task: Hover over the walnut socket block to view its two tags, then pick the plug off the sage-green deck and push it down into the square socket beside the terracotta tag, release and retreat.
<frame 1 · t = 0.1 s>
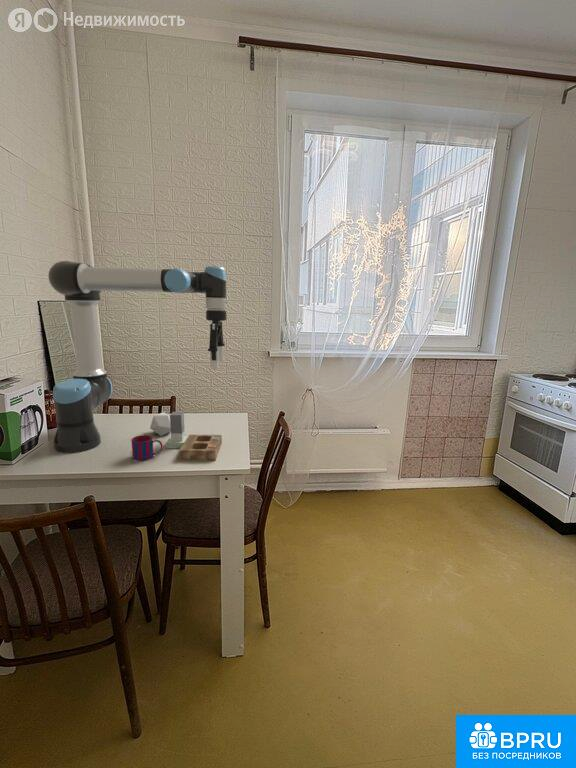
hand: (217, 365, 148), 28 cm above the table, fingers open, 13 cm apart
socket block: (201, 451, 136), on the table
plug: (178, 439, 142), point 2 cm above the table, touching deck
die: (162, 433, 153), on the table
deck: (178, 444, 142), on the table
mug: (147, 458, 130), on the table
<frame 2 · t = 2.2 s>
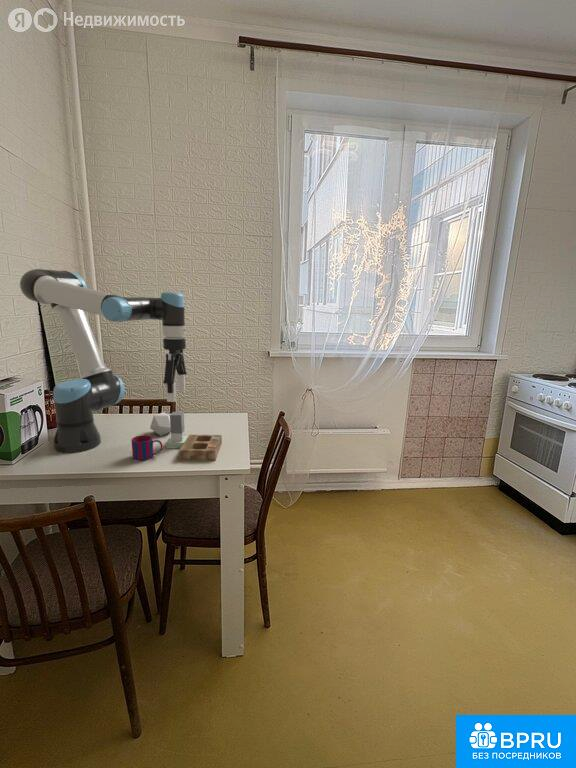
hand: (176, 396, 138), 18 cm above the table, fingers open, 13 cm apart
nothing on the table moved.
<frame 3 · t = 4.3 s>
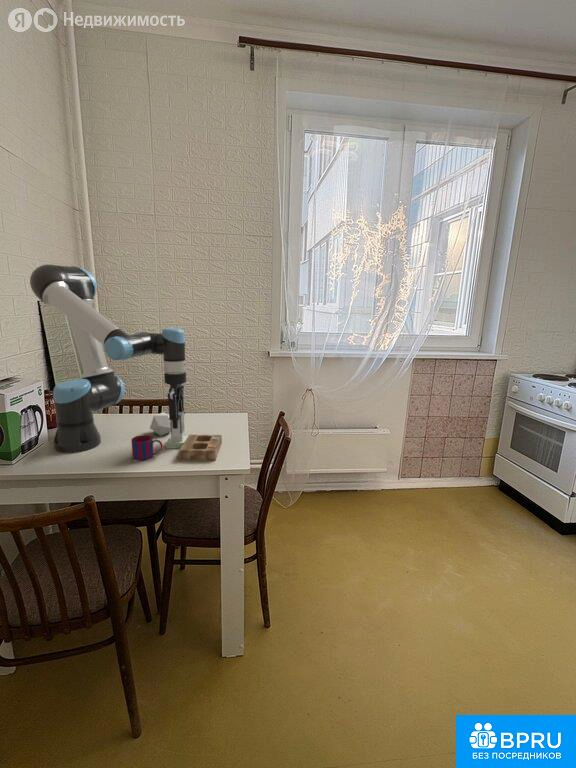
hand: (177, 433, 141), 4 cm above the table, fingers closed on plug, 4 cm apart
plug: (178, 439, 142), point 2 cm above the table, touching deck, gripper
everything else where it was.
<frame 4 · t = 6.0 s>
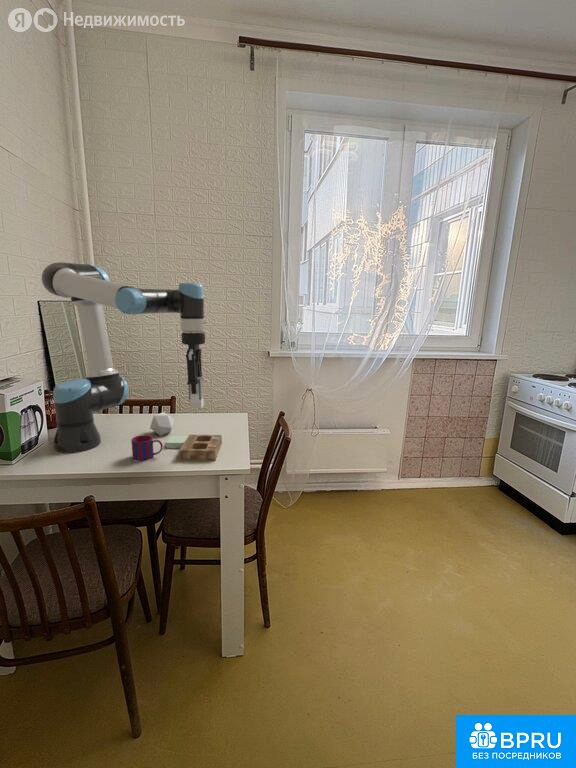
hand: (196, 400, 130), 19 cm above the table, fingers closed on plug, 4 cm apart
plug: (196, 406, 130), point 17 cm above the table, touching gripper
everything else where it was.
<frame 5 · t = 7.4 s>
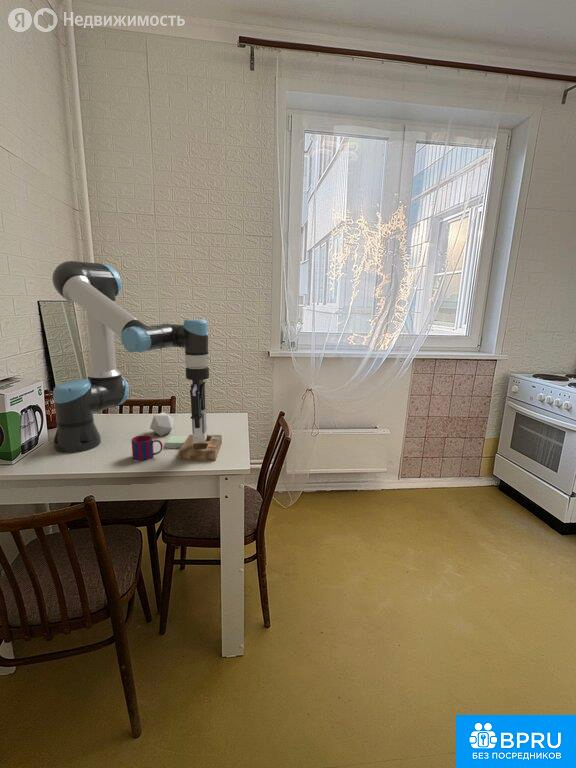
hand: (199, 433, 131), 8 cm above the table, fingers closed on plug, 4 cm apart
plug: (199, 439, 131), point 6 cm above the table, touching gripper
everything else where it was.
when the fingers open (5 cm above the table, at t = 8.2 s): plug drops 3 cm, resting in socket block.
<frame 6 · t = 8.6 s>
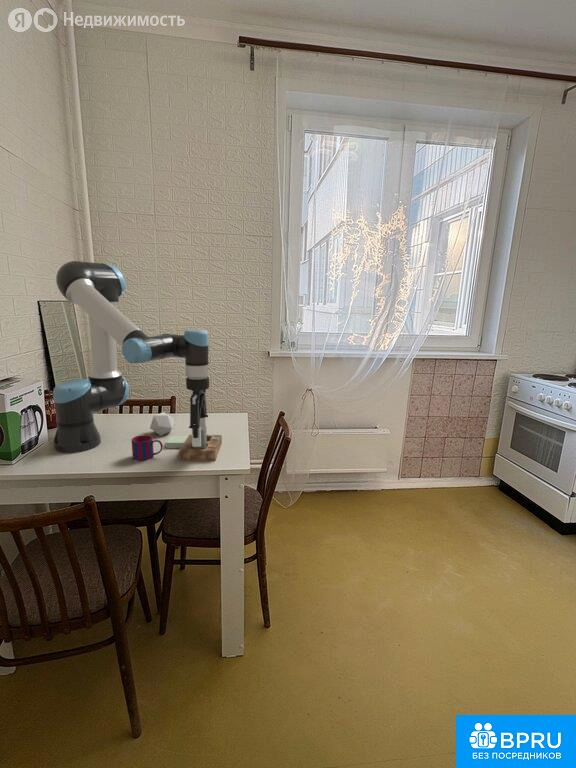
hand: (199, 440, 131), 6 cm above the table, fingers open, 9 cm apart
plug: (200, 455, 133), resting in socket block
everything else where it was.
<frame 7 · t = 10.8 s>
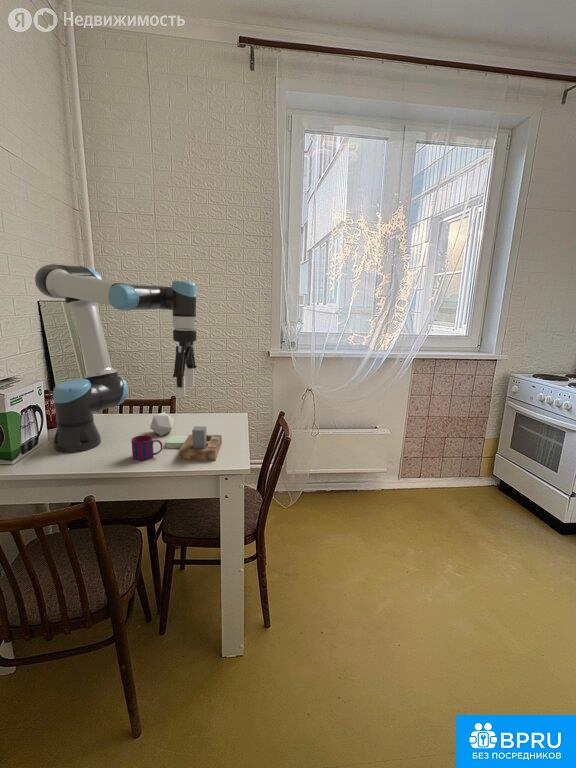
hand: (185, 391, 131), 22 cm above the table, fingers open, 13 cm apart
nothing on the table moved.
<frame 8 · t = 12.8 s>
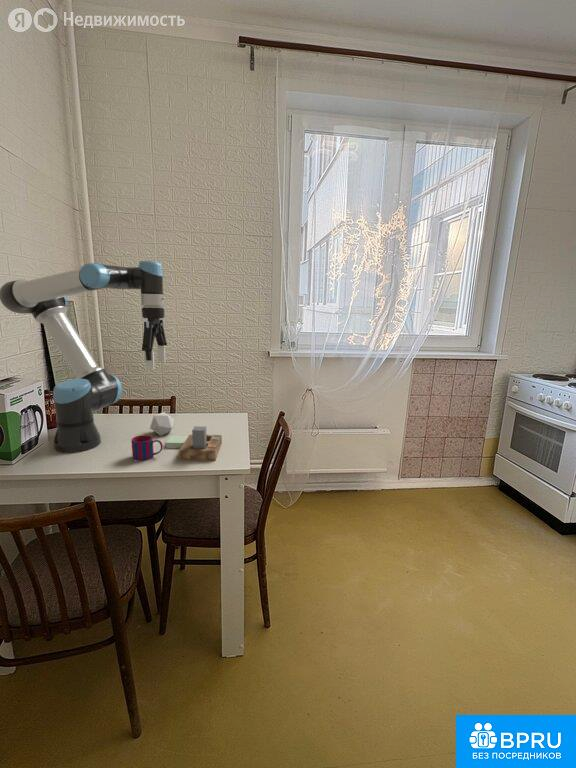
hand: (156, 366, 140), 29 cm above the table, fingers open, 13 cm apart
nothing on the table moved.
at the end: plug 0.0 cm from the target spot on the socket block, point 0.0 cm above the socket block's base; plug tilted 0°; the gripper is holding nothing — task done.
